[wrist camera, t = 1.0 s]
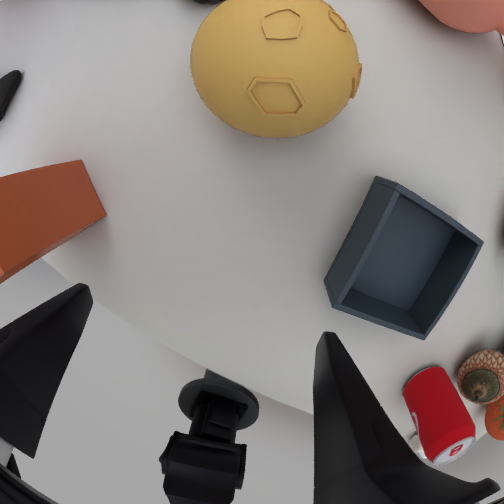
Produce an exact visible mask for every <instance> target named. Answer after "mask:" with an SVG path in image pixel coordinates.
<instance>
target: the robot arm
mask: <svg viewBox="0 0 504 504" xmlns="http://www.w3.org/2000/svg"><path fill="white" fill-rule="evenodd" d="M92 305H93V299H92V295H91V292H90V289H89V286H88V285H86V284H82V283H78V284H76V285H74V286H73V287H71V288H69V289H67V290H65V291H64V292H62V293H60V294H59V295H57V296H55V297H53V298H51V299H50V300H48V301H46V302H44V303H43V304H41V305H39V306H38V307H36V308H34V309H33V310H31V311H29V312H27V313H26V314H24V315H22V316H21V317H19V318H18V319H16V320H14V321H13V322H11V323H9V324H8V325H6V326H4V327H3V328H1V329H0V504H58V503H57V502H55V501H53V500H52V499H50V498H48V497H47V496H45V495H43V494H42V493H40V492H39V491H37V490H36V489H34V488H32V487H31V486H30V485H28V484H27V483H26V482H24V481H23V480H21V476H20V473H19V470H18V467H17V464H16V461H15V458H14V455H13V454H12V451H13V448H14V447H15V448H17V449H18V450H20V451H21V452H23V453H24V454H26V455H28V456H29V457H31V458H34V457H35V454H36V450H37V447H38V443H39V440H40V437H41V434H42V431H43V428H44V425H45V422H46V418H47V416H48V413H49V410H50V408H51V405H52V402H53V400H54V397H55V395H56V392H57V389H58V387H59V385H60V382H61V380H62V377H63V375H64V373H65V370H66V368H67V365H68V363H69V361H70V358H71V357H72V354H73V352H74V350H75V348H76V346H77V344H78V341H79V339H80V337H81V335H82V332H83V329H84V327H85V324H86V321H87V318H88V316H89V313H90V311H91V308H92ZM313 404H314V487H315V488H314V503H313V504H479V501H481V500H483V499H484V498H486V497H488V496H490V495H492V494H494V493H496V492H497V491H499V490H500V486H499V485H498V484H497V483H496V482H495V481H493V480H492V479H490V478H486V479H484V480H482V481H479V482H476V483H471V482H466V481H463V480H460V479H458V478H455V477H453V476H450V475H448V474H445V473H443V472H441V471H438V470H436V469H434V468H431V467H429V466H427V465H426V464H425V463H423V462H422V461H421V460H420V459H419V458H418V457H417V455H416V454H415V453H414V452H413V450H412V449H411V448H410V446H409V445H408V444H407V443H406V441H405V440H404V439H403V437H402V436H401V435H400V433H399V432H398V431H397V429H396V428H395V427H394V425H393V424H392V422H391V421H390V419H389V418H388V416H387V414H386V413H385V411H384V410H383V408H382V406H380V403H379V402H378V400H377V398H376V397H375V395H374V393H373V392H372V390H371V389H370V387H369V385H368V384H367V382H366V381H365V379H364V377H363V376H362V374H361V373H360V371H359V369H358V368H357V366H356V365H355V363H354V362H353V360H352V358H351V357H350V355H349V354H348V352H347V350H346V349H345V347H344V346H343V344H342V343H341V341H340V340H339V338H338V336H337V335H336V334H335V333H334V332H323V334H322V336H321V338H320V340H319V342H318V344H317V347H316V355H315V369H314V382H313ZM247 410H248V405H246V404H243V403H240V402H237V401H234V400H230V399H227V398H224V397H221V396H218V395H215V394H212V393H209V392H206V391H203V390H201V391H200V392H199V394H198V396H197V398H196V400H195V402H194V404H193V407H192V409H191V411H190V413H189V416H190V417H192V418H193V420H192V424H191V427H190V431H189V434H184V433H180V432H178V431H175V432H174V434H173V435H172V436H171V437H170V440H169V443H168V445H167V447H166V449H165V450H164V452H163V453H162V455H161V456H160V458H159V461H160V463H161V465H162V474H165V478H164V483H163V488H164V491H165V494H166V495H167V497H168V499H169V502H170V504H230V503H231V502H232V501H233V499H234V493H235V489H240V490H241V488H242V484H243V479H244V472H245V462H246V447H247V445H246V444H235V437H236V431H237V424H238V422H239V421H240V420H241V418H242V417H243V415H244V414H245V413H246V411H247ZM489 504H504V497H502V498H500V499H498V500H496V501H493V502H491V503H489Z"/></svg>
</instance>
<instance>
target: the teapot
mask: <svg viewBox="0 0 504 504" xmlns="http://www.w3.org/2000/svg"><path fill="white" fill-rule="evenodd" d="M419 1H420V2H421V3H422V4H423V5H424V6H425V7H426V8H427V9H428V10H429V11H430V12H431V13H432V14H433V15H434V16H435V17H436V18H437V19H438V20H440V21H441V22H442V23H444V24H445V25H447V26H449V27H452V28H454V29H457V30H460V31H464V32H471V33H483V32H490V31H493V30H496V31H498V32H499V33H501V34H502V35H503V36H504V0H419Z"/></svg>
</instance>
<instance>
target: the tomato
mask: <svg viewBox="0 0 504 504" xmlns="http://www.w3.org/2000/svg"><path fill="white" fill-rule="evenodd" d="M485 426H486V429H487V431H488V433H489V434H490V435H491V436H492V437H493V438H495V439H497V440H504V395H503V396H502V397H501V398H499V399H498V400H496V401H494V402H492V403H489V404H488V406H487V409H486V413H485Z"/></svg>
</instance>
